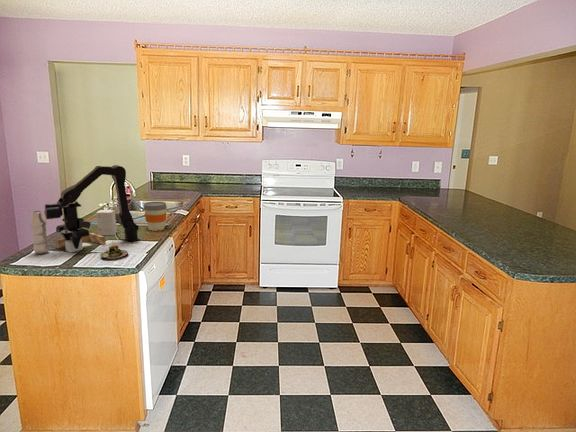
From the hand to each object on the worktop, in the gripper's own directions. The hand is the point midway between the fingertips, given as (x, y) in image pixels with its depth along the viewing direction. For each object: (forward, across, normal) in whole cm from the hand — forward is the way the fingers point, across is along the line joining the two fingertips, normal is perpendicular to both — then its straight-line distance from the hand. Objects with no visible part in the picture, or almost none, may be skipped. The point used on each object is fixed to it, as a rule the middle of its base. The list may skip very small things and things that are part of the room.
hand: (74, 247), depth 192 cm
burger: (+2, -23, -6) cm, 24 cm away
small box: (+2, +13, -26) cm, 29 cm away
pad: (+1, +4, -6) cm, 8 cm away
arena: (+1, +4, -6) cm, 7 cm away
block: (+1, 0, 0) cm, 1 cm away
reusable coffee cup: (+2, 0, -49) cm, 49 cm away
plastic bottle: (+2, +8, +11) cm, 14 cm away
